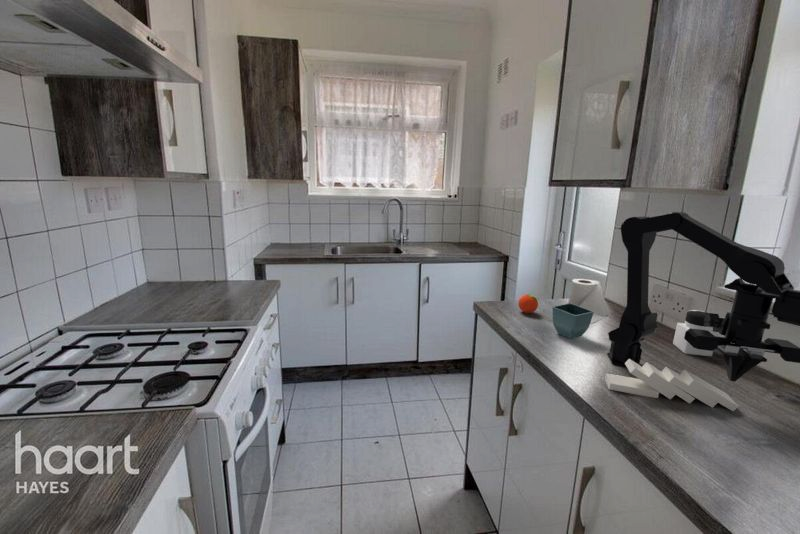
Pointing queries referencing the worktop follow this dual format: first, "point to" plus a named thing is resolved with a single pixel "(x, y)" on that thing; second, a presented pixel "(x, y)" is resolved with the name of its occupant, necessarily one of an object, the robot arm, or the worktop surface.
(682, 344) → the medicine bottle
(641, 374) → the domino
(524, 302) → the clementine
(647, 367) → the domino
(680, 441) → the worktop surface
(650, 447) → the worktop surface
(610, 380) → the domino
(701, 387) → the domino
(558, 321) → the flower pot
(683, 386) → the domino
